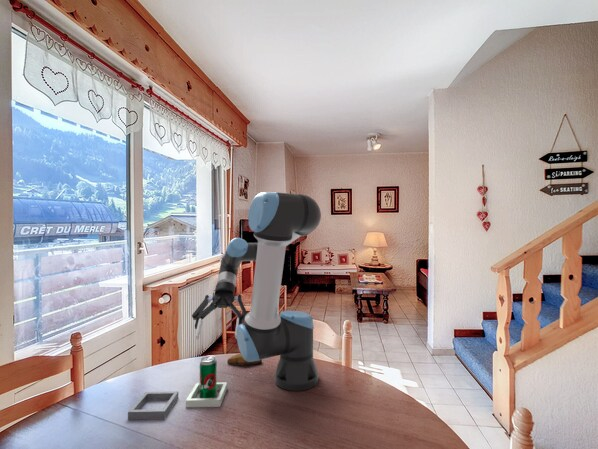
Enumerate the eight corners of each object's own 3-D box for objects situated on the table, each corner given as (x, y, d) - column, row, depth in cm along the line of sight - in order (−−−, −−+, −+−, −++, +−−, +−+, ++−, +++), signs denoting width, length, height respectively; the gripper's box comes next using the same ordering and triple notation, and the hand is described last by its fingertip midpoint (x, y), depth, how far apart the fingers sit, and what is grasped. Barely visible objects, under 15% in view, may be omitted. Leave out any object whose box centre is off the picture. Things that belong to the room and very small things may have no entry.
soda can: (219, 394, 92) (219, 356, 93) (209, 403, 88) (210, 363, 88) (206, 391, 94) (206, 354, 94) (195, 400, 89) (196, 360, 89)
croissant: (262, 359, 118) (262, 347, 118) (261, 367, 111) (261, 354, 111) (229, 360, 118) (229, 347, 118) (225, 368, 111) (225, 354, 111)
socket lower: (227, 388, 96) (227, 382, 96) (220, 406, 86) (220, 399, 86) (196, 388, 95) (196, 382, 96) (185, 407, 85) (185, 400, 86)
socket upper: (178, 397, 90) (178, 391, 90) (164, 418, 80) (164, 411, 80) (145, 398, 90) (145, 391, 90) (127, 419, 80) (127, 412, 80)
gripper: (257, 290, 120) (253, 341, 105) (196, 291, 119) (183, 342, 104) (256, 280, 115) (251, 331, 100) (192, 280, 114) (177, 333, 99)
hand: (216, 337), depth 102 cm, fingers open, 13 cm apart
